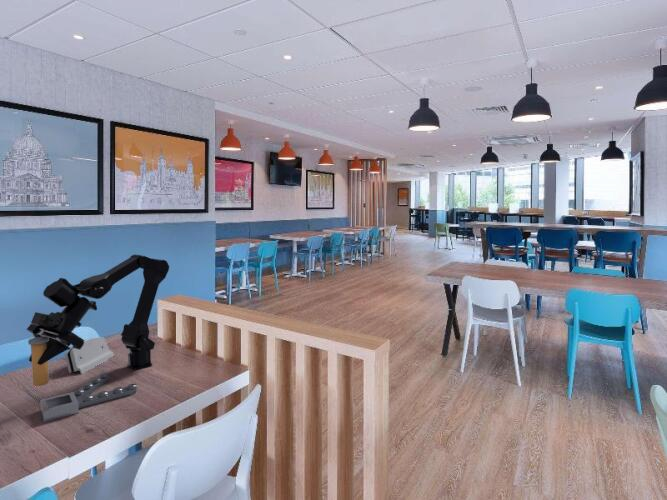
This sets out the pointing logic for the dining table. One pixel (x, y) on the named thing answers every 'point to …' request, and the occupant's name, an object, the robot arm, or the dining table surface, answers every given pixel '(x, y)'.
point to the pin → (36, 352)
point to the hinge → (88, 355)
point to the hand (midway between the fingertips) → (34, 362)
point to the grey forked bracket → (82, 398)
